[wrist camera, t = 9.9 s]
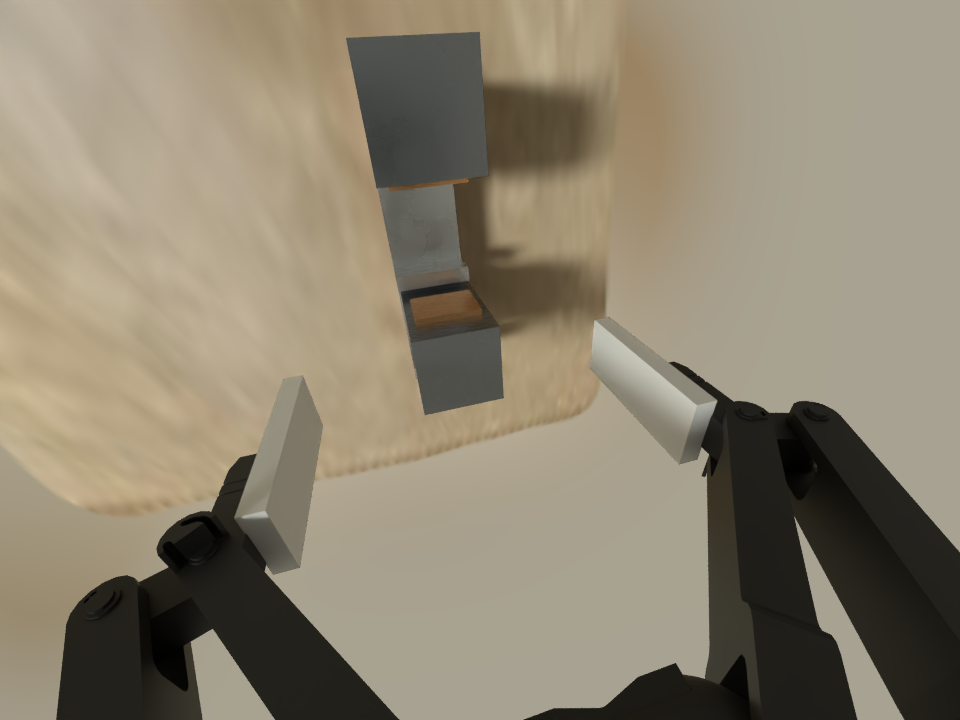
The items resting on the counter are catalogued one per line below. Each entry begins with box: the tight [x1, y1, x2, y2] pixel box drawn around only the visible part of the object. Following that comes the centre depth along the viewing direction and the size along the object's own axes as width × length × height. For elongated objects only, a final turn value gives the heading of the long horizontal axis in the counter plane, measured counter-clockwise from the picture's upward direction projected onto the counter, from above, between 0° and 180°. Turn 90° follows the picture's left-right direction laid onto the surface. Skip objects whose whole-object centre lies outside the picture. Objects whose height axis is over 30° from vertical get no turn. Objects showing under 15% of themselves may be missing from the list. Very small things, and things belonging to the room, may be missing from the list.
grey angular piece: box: [346, 32, 488, 379], centre depth 19 cm, size 16×4×10 cm, turn 5°
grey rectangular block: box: [401, 281, 504, 415], centre depth 20 cm, size 4×4×8 cm
